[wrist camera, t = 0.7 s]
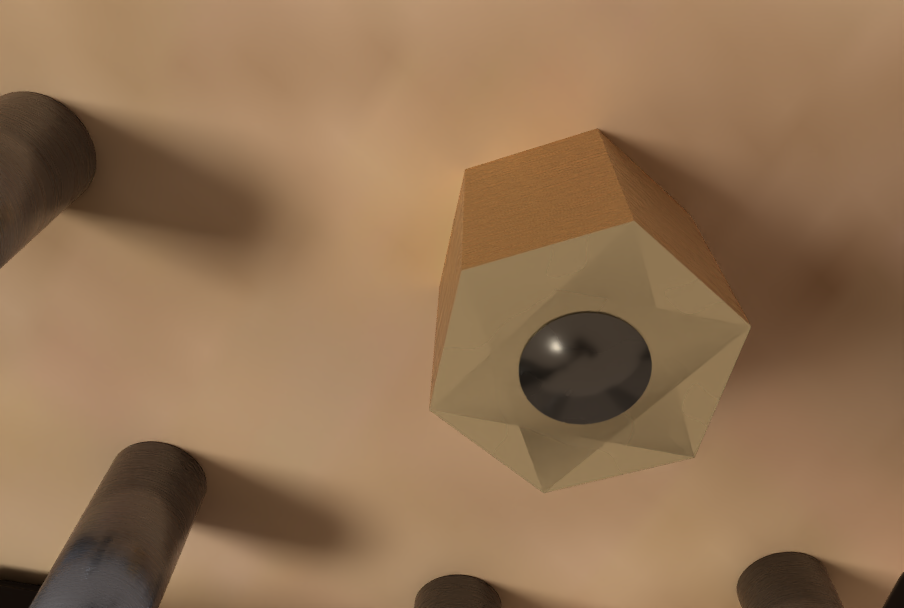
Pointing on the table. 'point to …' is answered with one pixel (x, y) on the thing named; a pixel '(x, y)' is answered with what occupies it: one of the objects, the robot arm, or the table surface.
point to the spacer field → (174, 471)
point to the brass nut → (579, 317)
